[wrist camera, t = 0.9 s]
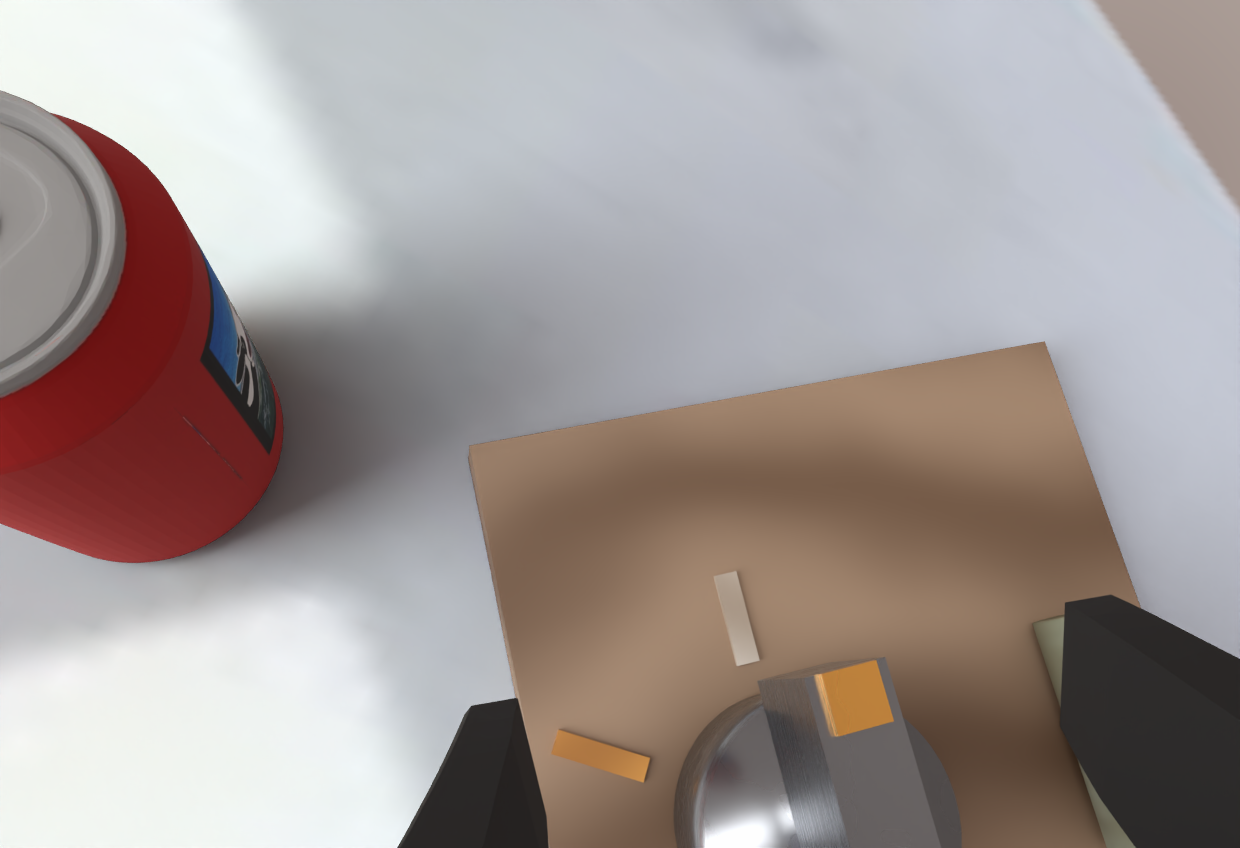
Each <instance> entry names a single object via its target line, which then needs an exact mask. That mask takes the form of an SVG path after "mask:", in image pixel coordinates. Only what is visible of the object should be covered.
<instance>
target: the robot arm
mask: <svg viewBox="0 0 1240 848" xmlns="http://www.w3.org/2000/svg"><path fill="white" fill-rule="evenodd" d="M1060 728H1061V730H1062V731H1063V733H1064V735H1065V737H1066V739H1067V741H1068V743H1069V744H1070V746H1071V748H1072V750H1073V752H1074V754H1075V755H1076V757H1077V759H1078V761H1079V763H1080V765H1081V767H1082V768H1083V770H1084V772H1085V773H1086V775H1087V777H1088V779H1089V780H1090V782H1091V784H1092V786H1093V787H1094V789H1095V791H1096V792H1097V794H1098V796H1099V798H1100V799H1101V800H1102V802H1103V803H1104V805H1105V806H1106V807H1107V809H1108V810H1109V812H1110V813H1111V814H1112V816H1113V817H1114V819H1115V820H1116V821H1117V823H1118V824H1119V825H1120V827H1121V828H1122V830H1123V831H1124V832H1125V834H1126V835H1127V836H1128V838H1129V839H1130V841H1131V842H1132V843H1133V845H1134V846H1135V847H1136V848H1240V659H1239V658H1237V657H1235V656H1233V655H1231V654H1229V653H1227V652H1225V651H1223V650H1221V649H1219V648H1217V647H1215V646H1213V645H1211V644H1209V643H1207V642H1206V641H1204V640H1202V639H1200V638H1198V637H1196V636H1194V635H1192V634H1190V633H1188V632H1186V631H1184V630H1182V629H1180V628H1178V627H1176V626H1175V625H1173V624H1171V623H1169V622H1167V621H1165V620H1163V619H1161V618H1159V617H1157V616H1155V615H1153V614H1151V613H1149V612H1147V611H1145V610H1143V609H1141V608H1139V607H1137V606H1135V605H1133V604H1131V603H1129V602H1127V601H1124V600H1122V599H1120V598H1118V597H1116V596H1113V595H1105V596H1099V597H1094V598H1088V599H1082V600H1076V601H1071V602H1065V612H1064V636H1063V660H1062V684H1061V707H1060ZM397 848H549V846H548V829H547V815H546V811H545V807H544V803H543V799H542V795H541V791H540V787H539V783H538V779H537V774H536V770H535V766H534V762H533V758H532V754H531V750H530V746H529V742H528V738H527V734H526V730H525V725H524V721H523V717H522V713H521V709H520V705H519V701H518V698H514V699H508V700H502V701H497V702H491V703H485V704H479V705H474V706H471V707H470V708H469V710H468V711H467V712H466V713H465V715H464V717H463V719H462V722H461V724H460V726H459V728H458V731H457V733H456V735H455V737H454V740H453V742H452V744H451V746H450V748H449V750H448V752H447V755H446V757H445V759H444V761H443V763H442V765H441V767H440V769H439V771H438V773H437V775H436V777H435V779H434V781H433V783H432V785H431V787H430V789H429V791H428V793H427V795H426V796H425V798H424V800H423V802H422V804H421V806H420V808H419V809H418V811H417V813H416V815H415V817H414V819H413V820H412V822H411V824H410V826H409V828H408V830H407V832H406V833H405V835H404V837H403V839H402V840H401V842H400V844H399V846H398V847H397Z"/></svg>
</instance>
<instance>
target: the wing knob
mask: <svg viewBox="0 0 1240 848" xmlns="http://www.w3.org/2000/svg"><path fill="white" fill-rule="evenodd" d="M757 682H758V686H759V690H760V694H757V695H754V696H751V697H748V698H745V699H743V700H741V701H739V702H737V703H735V704H733V705H731V706H730V707H728V708H727V709H725V710H724V711H723V712H721V713H720V714H719V715H717V716H716V717H715V718H714V719H713V720H712V721H711V722H710V723H709V724H708V725H707V726H706V727H705V728H704V730H703V731H702V732H701V733H700V734H699V736H698V737H697V739H696V740H695V742H694V743H693V745H692V747H691V748H690V750H689V752H688V754H687V756H686V759H685V761H684V763H683V765H682V768H681V772H680V775H679V778H678V781H677V787H676V792H675V798H674V812H673V815H674V832H675V838H676V844H677V848H962V832H961V824H960V816H959V810H958V806H957V802H956V798H955V794H954V791H953V788H952V786H951V783H950V780H949V777H948V775H947V773H946V771H945V769H944V767H943V765H942V763H941V761H940V760H939V758H938V756H937V755H936V753H935V752H934V750H933V749H932V747H931V746H930V744H929V743H928V742H927V741H926V740H925V738H924V737H923V736H922V735H921V733H920V732H919V731H918V730H917V729H916V728H915V727H914V726H912V725H911V724H910V723H909V722H908V721H907V720H906V719H905V718H903V716H902V712H901V709H900V705H899V702H898V699H897V695H896V692H895V688H894V685H893V682H892V678H891V675H890V671H889V668H888V665H887V661H886V658H885V657H880V658H870V659H859V660H849V661H838V662H828V663H824V664H821V665H817V666H813V667H809V668H805V669H801V670H797V671H793V672H789V673H785V674H781V675H778V676H774V677H770V678H766V679H762V680H758V681H757Z"/></svg>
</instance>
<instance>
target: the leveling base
mask: <svg viewBox="0 0 1240 848" xmlns="http://www.w3.org/2000/svg"><path fill="white" fill-rule="evenodd" d="M468 460H469V465H470V470H471V475H472V480H473V485H474V490H475V495H476V500H477V505H478V510H479V515H480V520H481V525H482V530H483V535H484V540H485V545H486V550H487V555H488V560H489V565H490V570H491V575H492V580H493V585H494V590H495V595H496V600H497V605H498V610H499V615H500V620H501V626H502V631H503V636H504V641H505V646H506V651H507V656H508V661H509V666H510V671H511V676H512V681H513V686H514V691H515V696H516V698H518V701H519V705H520V709H521V713H522V717H523V721H524V725H525V730H526V734H527V738H528V742H529V746H530V750H531V754H532V758H533V762H534V766H535V770H536V774H537V779H538V783H539V787H540V791H541V795H542V799H543V803H544V807H545V811H546V815H547V829H548V846H549V848H677V844H676V838H675V832H674V815H673V812H674V798H675V792H676V787H677V781H678V778H679V775H680V772H681V768H682V765H683V763H684V761H685V759H686V756H687V754H688V752H689V750H690V748H691V747H692V745H693V743H694V742H695V740H696V739H697V737H698V736H699V734H700V733H701V732H702V731H703V730H704V728H705V727H706V726H707V725H708V724H709V723H710V722H711V721H712V720H713V719H714V718H715V717H716V716H717V715H719V714H720V713H721V712H723V711H724V710H725V709H727V708H728V707H730V706H731V705H733V704H735V703H737V702H739V701H741V700H743V699H745V698H748V697H751V696H754V695H757V694H760V690H759V686H758V682H757V681H758V680H762V679H766V678H770V677H774V676H778V675H781V674H785V673H789V672H793V671H797V670H801V669H805V668H809V667H813V666H817V665H821V664H824V663H828V662H838V661H849V660H859V659H870V658H880V657H885V658H886V661H887V665H888V668H889V671H890V675H891V678H892V682H893V685H894V688H895V692H896V695H897V699H898V702H899V705H900V709H901V712H902V716H903V718H905V719H906V720H907V721H908V722H909V723H910V724H911V725H912V726H914V727H915V728H916V729H917V730H918V731H919V732H920V733H921V735H922V736H923V737H924V738H925V740H926V741H927V742H928V743H929V744H930V746H931V747H932V749H933V750H934V752H935V753H936V755H937V756H938V758H939V760H940V761H941V763H942V765H943V767H944V769H945V771H946V773H947V775H948V777H949V780H950V783H951V786H952V788H953V791H954V794H955V798H956V802H957V806H958V810H959V816H960V824H961V832H962V848H1136V847H1135V846H1134V845H1133V843H1132V842H1131V841H1130V839H1129V838H1128V836H1127V835H1126V834H1125V832H1124V831H1123V830H1122V828H1121V827H1120V825H1119V824H1118V823H1117V821H1116V820H1115V819H1114V817H1113V816H1112V814H1111V813H1110V812H1109V810H1108V809H1107V807H1106V806H1105V805H1104V803H1103V802H1102V800H1101V799H1100V798H1099V796H1098V794H1097V792H1096V791H1095V789H1094V787H1093V786H1092V784H1091V782H1090V780H1089V779H1088V777H1087V775H1086V773H1085V772H1084V770H1083V768H1082V767H1081V765H1080V763H1079V761H1078V759H1077V757H1076V755H1075V754H1074V752H1073V750H1072V748H1071V746H1070V744H1069V743H1068V741H1067V739H1066V737H1065V735H1064V733H1063V731H1062V730H1061V728H1060V707H1061V684H1062V660H1063V636H1064V612H1065V602H1071V601H1076V600H1082V599H1088V598H1094V597H1099V596H1105V595H1113V596H1116V597H1118V598H1120V599H1122V600H1124V601H1127V602H1129V603H1131V604H1133V605H1135V606H1137V607H1139V608H1141V607H1140V604H1139V601H1138V599H1137V596H1136V593H1135V590H1134V588H1133V585H1132V582H1131V579H1130V577H1129V574H1128V571H1127V568H1126V566H1125V563H1124V560H1123V557H1122V554H1121V552H1120V549H1119V546H1118V543H1117V541H1116V538H1115V535H1114V532H1113V530H1112V527H1111V524H1110V521H1109V518H1108V516H1107V513H1106V510H1105V507H1104V505H1103V502H1102V499H1101V496H1100V494H1099V491H1098V488H1097V485H1096V482H1095V480H1094V477H1093V474H1092V471H1091V469H1090V466H1089V463H1088V460H1087V458H1086V455H1085V452H1084V449H1083V447H1082V444H1081V441H1080V438H1079V435H1078V433H1077V430H1076V427H1075V424H1074V422H1073V419H1072V416H1071V413H1070V411H1069V408H1068V405H1067V402H1066V399H1065V397H1064V394H1063V391H1062V388H1061V386H1060V383H1059V380H1058V377H1057V375H1056V372H1055V369H1054V366H1053V363H1052V361H1051V358H1050V355H1049V352H1048V350H1047V347H1046V344H1045V341H1044V342H1039V343H1033V344H1027V345H1022V346H1016V347H1011V348H1005V349H1000V350H994V351H989V352H983V353H978V354H972V355H967V356H961V357H956V358H950V359H945V360H939V361H934V362H928V363H923V364H917V365H912V366H906V367H901V368H895V369H890V370H884V371H879V372H873V373H867V374H862V375H856V376H851V377H845V378H840V379H834V380H829V381H823V382H818V383H812V384H807V385H801V386H796V387H790V388H785V389H779V390H774V391H768V392H763V393H757V394H752V395H746V396H741V397H735V398H730V399H724V400H718V401H713V402H707V403H702V404H696V405H691V406H685V407H680V408H674V409H669V410H663V411H658V412H652V413H647V414H641V415H636V416H630V417H625V418H619V419H614V420H608V421H603V422H597V423H592V424H586V425H581V426H575V427H570V428H564V429H558V430H553V431H547V432H542V433H536V434H531V435H525V436H520V437H514V438H509V439H503V440H498V441H492V442H487V443H481V444H476V445H470V446H469V457H468Z"/></svg>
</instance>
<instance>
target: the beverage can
mask: <svg viewBox="0 0 1240 848" xmlns="http://www.w3.org/2000/svg"><path fill="white" fill-rule="evenodd" d="M282 441H283V416H282V410H281V405H280V401H279V397H278V394H277V391H276V389H275V386H274V384H273V382H272V380H271V378H270V376H269V374H268V372H267V370H266V368H265V366H264V364H263V362H262V360H261V358H260V356H259V354H258V352H257V350H256V348H255V346H254V345H253V343H252V341H251V339H250V337H249V335H248V333H247V331H246V329H245V328H244V326H243V324H242V322H241V320H240V318H239V316H238V314H237V313H236V311H235V309H234V307H233V305H232V303H231V302H230V300H229V298H228V296H227V294H226V293H225V291H224V289H223V287H222V286H221V284H220V282H219V280H218V278H217V277H216V275H215V273H214V271H213V269H212V268H211V266H210V264H209V262H208V260H207V259H206V257H205V255H204V253H203V252H202V250H201V248H200V246H199V245H198V243H197V241H196V240H195V238H194V236H193V234H192V233H191V231H190V229H189V228H188V226H187V224H186V222H185V221H184V219H183V217H182V215H181V214H180V212H179V210H178V209H177V207H176V205H175V203H174V202H173V200H172V198H171V197H170V195H169V194H168V192H167V190H166V189H165V188H164V186H163V185H162V184H161V182H160V181H159V180H158V178H157V177H156V176H155V175H154V174H153V173H152V172H151V171H150V170H149V168H148V167H147V166H146V165H144V164H143V163H142V162H141V161H140V160H139V159H138V158H137V157H136V156H135V155H133V154H132V153H131V152H129V151H128V150H127V149H125V148H124V147H123V146H121V145H120V144H118V143H117V142H115V141H113V140H112V139H110V138H109V137H107V136H105V135H103V134H101V133H100V132H98V131H96V130H94V129H92V128H90V127H88V126H86V125H83V124H81V123H79V122H76V121H74V120H71V119H68V118H66V117H63V116H60V115H57V114H53V113H49V112H48V111H46V110H44V109H43V108H41V107H39V106H37V105H35V104H33V103H31V102H29V101H27V100H24V99H22V98H20V97H17V96H14V95H12V94H9V93H6V92H3V91H0V523H1V524H3V525H6V526H8V527H11V528H14V529H16V530H19V531H22V532H24V533H27V534H30V535H32V536H35V537H38V538H40V539H43V540H46V541H48V542H51V543H54V544H57V545H59V546H62V547H65V548H68V549H71V550H74V551H76V552H79V553H82V554H85V555H88V556H91V557H95V558H98V559H103V560H108V561H115V562H127V563H141V562H153V561H160V560H165V559H170V558H174V557H177V556H181V555H184V554H186V553H189V552H192V551H195V550H197V549H199V548H201V547H203V546H205V545H207V544H209V543H211V542H213V541H214V540H216V539H218V538H219V537H221V536H222V535H224V534H225V533H227V532H228V531H229V530H230V529H232V528H233V527H234V526H236V525H237V524H238V523H239V522H240V521H241V520H242V519H243V518H244V517H245V516H246V515H247V514H248V513H249V512H250V511H251V510H252V509H253V507H254V506H255V505H256V504H257V502H258V501H259V500H260V498H261V497H262V495H263V494H264V492H265V491H266V489H267V487H268V485H269V483H270V481H271V479H272V477H273V475H274V472H275V470H276V467H277V464H278V461H279V458H280V453H281V449H282Z"/></svg>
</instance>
